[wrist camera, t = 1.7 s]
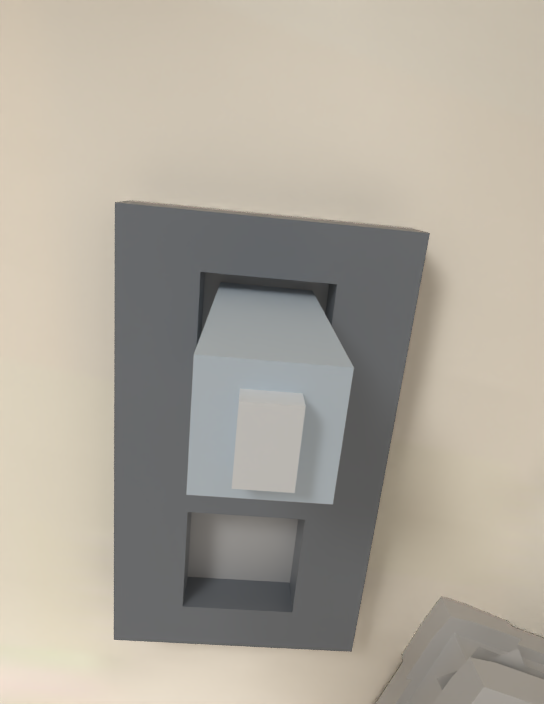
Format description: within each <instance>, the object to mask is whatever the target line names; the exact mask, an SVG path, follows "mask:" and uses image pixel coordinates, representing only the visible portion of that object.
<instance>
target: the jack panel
mask: <svg viewBox="0 0 544 704" xmlns="http://www.w3.org/2000/svg"><path fill="white" fill-rule="evenodd" d="M429 234H430V233H427V232H423V231H420V230H416V229H412V228H404V227H394V226H384V225H373V224H363V223H353V222H343V221H333V220H323V219H313V218H302V217H292V216H282V215H272V214H262V213H252V212H241V211H231V210H221V209H211V208H201V207H191V206H181V205H170V204H160V203H150V202H140V201H123V202H115V404H114V640H130V641H150V642H170V643H190V644H210V645H230V646H250V647H271V648H291V649H311V650H331V651H351V652H352V647H353V641H354V636H355V630H356V625H357V620H358V614H359V609H360V604H361V598H362V593H363V588H364V582H365V577H366V572H367V566H368V561H369V555H370V550H371V545H372V539H373V534H374V529H375V523H376V518H377V513H378V507H379V502H380V497H381V491H382V486H383V480H384V475H385V470H386V464H387V459H388V454H389V448H390V443H391V438H392V432H393V427H394V422H395V416H396V411H397V405H398V400H399V395H400V389H401V384H402V379H403V373H404V368H405V363H406V357H407V352H408V347H409V341H410V336H411V330H412V325H413V320H414V314H415V309H416V304H417V298H418V293H419V288H420V282H421V277H422V272H423V266H424V261H425V255H426V250H427V245H428V239H429ZM221 282H225V283H236V284H247V285H258V286H269V287H280V288H291V289H302V290H312V291H313V293H314V294H315V296H316V298H317V300H318V302H319V304H320V306H321V307H322V309H323V311H324V313H325V315H326V317H327V319H328V320H329V322H330V324H331V326H332V328H333V330H334V332H335V333H336V335H337V337H338V339H339V341H340V343H341V345H342V346H343V348H344V350H345V352H346V354H347V356H348V358H349V359H350V361H351V363H352V365H353V367H354V371H353V377H352V384H351V390H350V396H349V403H348V409H347V416H346V422H345V429H344V435H343V442H342V448H341V455H340V461H339V468H338V474H337V481H336V487H335V494H334V500H333V504H318V503H303V502H288V501H273V500H258V499H243V498H228V497H213V496H198V495H186V492H187V473H188V454H189V434H190V415H191V396H192V377H193V358H194V352H195V350H196V347H197V344H198V342H199V339H200V336H201V334H202V331H203V328H204V326H205V323H206V320H207V317H208V315H209V312H210V309H211V307H212V304H213V301H214V299H215V296H216V293H217V291H218V288H219V285H220V283H221Z"/></svg>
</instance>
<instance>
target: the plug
mask: <svg viewBox="0 0 544 704" xmlns="http://www.w3.org/2000/svg"><path fill="white" fill-rule="evenodd" d="M353 371H354V367H353V365H352V363H351V361H350V359H349V358H348V356H347V354H346V352H345V350H344V348H343V346H342V345H341V343H340V341H339V339H338V337H337V335H336V333H335V332H334V330H333V328H332V326H331V324H330V322H329V320H328V319H327V317H326V315H325V313H324V311H323V309H322V307H321V306H320V304H319V302H318V300H317V298H316V296H315V294H314V293H313V291H312V290H302V289H291V288H280V287H269V286H258V285H247V284H236V283H225V282H221V283H220V285H219V288H218V291H217V293H216V296H215V299H214V301H213V304H212V307H211V309H210V312H209V315H208V317H207V320H206V323H205V326H204V328H203V331H202V334H201V336H200V339H199V342H198V344H197V347H196V350H195V352H194V358H193V377H192V396H191V415H190V434H189V454H188V473H187V492H186V495H198V496H213V497H228V498H243V499H258V500H273V501H288V502H303V503H318V504H333V500H334V494H335V487H336V481H337V474H338V468H339V461H340V455H341V448H342V442H343V435H344V429H345V422H346V416H347V409H348V403H349V396H350V390H351V384H352V377H353Z"/></svg>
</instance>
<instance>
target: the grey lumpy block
mask: <svg viewBox="0 0 544 704" xmlns="http://www.w3.org/2000/svg"><path fill="white" fill-rule="evenodd" d="M402 660H403V662H402V664H401V666H400V667H399V669H398V670H397V672H396V673H395V675H394V676H393V678H392V679H391V681H390V682H389V684H388V685H387V687H386V688H385V690H384V691H383V693H382V694H381V696H380V697H379V699H378V700H377V702H376V703H375V704H544V638H542V637H539V636H537V635H534V634H531V633H528V632H526V631H523V630H520V629H518V628H515V627H512V626H511V625H510V624H509V622H508V621H507V620H504V619H502V618H499V617H497V616H494V615H492V614H489V613H487V612H484V611H482V610H479V609H477V608H474V607H472V606H469V605H467V604H464V603H461V602H458V601H455V600H452V599H449V598H445V597H443V596H441V597H440V599H439V600H438V601H437V603H436V604H435V605H434V607H433V608H432V610H431V611H430V612H429V614H428V615H427V616H426V618H425V619H424V621H423V622H422V624H421V625H420V627H419V628H418V630H417V632H416V633H415V635H414V636H413V638H412V639H411V641H410V642H409V644H408V646H407V647H406V649H405V650H404V652H403V653H402Z"/></svg>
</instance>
